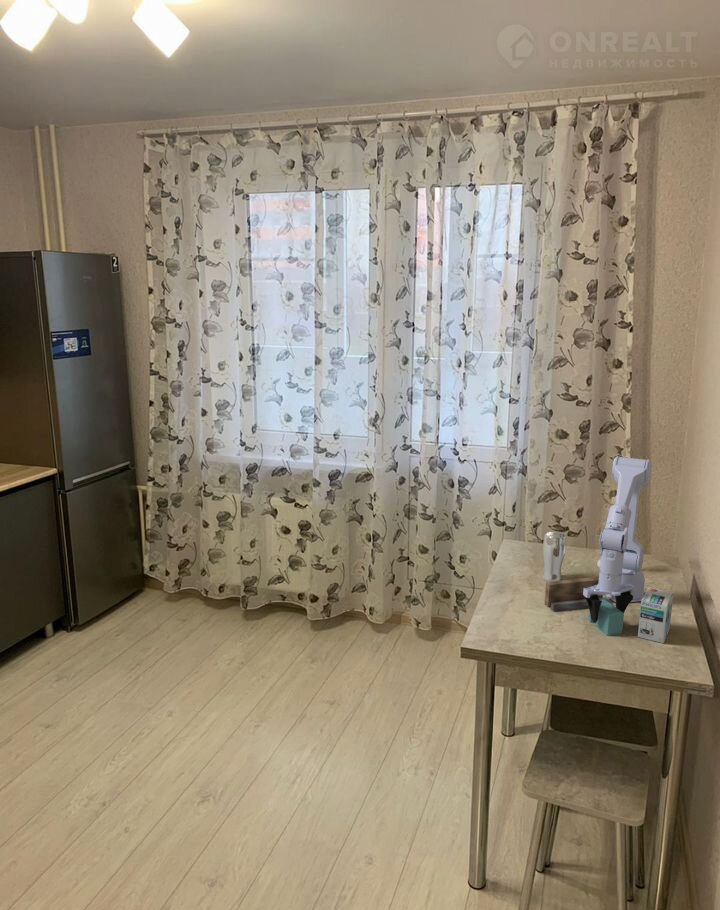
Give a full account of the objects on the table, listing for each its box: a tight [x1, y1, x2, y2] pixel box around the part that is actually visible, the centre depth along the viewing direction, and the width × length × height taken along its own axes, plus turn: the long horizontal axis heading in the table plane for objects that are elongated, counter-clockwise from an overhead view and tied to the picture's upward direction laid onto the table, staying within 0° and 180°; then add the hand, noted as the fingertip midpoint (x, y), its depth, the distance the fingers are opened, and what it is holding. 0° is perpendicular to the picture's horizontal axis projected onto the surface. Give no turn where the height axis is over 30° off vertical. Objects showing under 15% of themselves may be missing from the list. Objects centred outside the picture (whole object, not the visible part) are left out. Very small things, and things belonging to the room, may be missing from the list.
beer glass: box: [541, 530, 567, 582], centre depth 220 cm, size 7×7×15 cm
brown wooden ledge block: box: [544, 576, 610, 613], centre depth 202 cm, size 18×5×7 cm, turn 104°
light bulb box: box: [637, 586, 674, 644], centre depth 185 cm, size 11×7×11 cm, turn 148°
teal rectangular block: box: [588, 599, 625, 637], centre depth 188 cm, size 4×9×6 cm, turn 14°
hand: (606, 618), depth 188 cm, fingers open, 7 cm apart
